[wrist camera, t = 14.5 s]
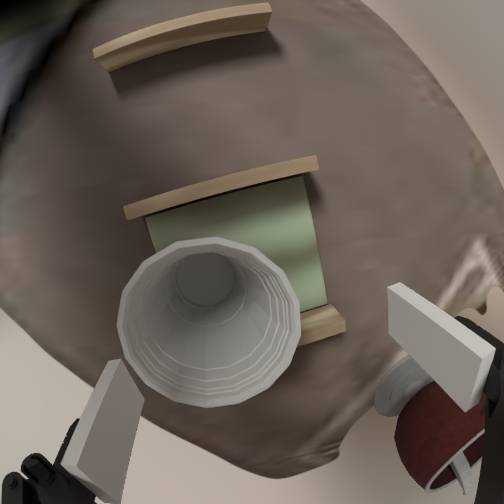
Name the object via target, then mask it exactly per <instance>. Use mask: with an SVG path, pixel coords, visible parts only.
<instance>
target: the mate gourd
mask: <svg viewBox="0 0 504 504" xmlns="http://www.w3.org/2000/svg"><path fill="white" fill-rule="evenodd" d="M486 398H487V396H486V395H485V394H484V393H483V392H482V395H481V398H480V400H479V403H478V404H476V405H475V406H474V407H472V408H471V409H469V410H468V411H467V412H464V411H463V410H462V409H461V408H460V407H459V406H458V405H457V404H456V402H455V401H454V400H453V399H452V398H451V397H450V396H449V395H448V394H447V393H446V392H445V391H444V390H443V389H442V388H441V387H440V385H439V384H438V383H437V382H436V381H435V380H434V379H433V378H432V377H431V376H430V375H429V374H428V373H427V372H426V371H425V370H424V369H423V368H422V367H421V366H420V365H419V364H418V363H417V362H416V361H415V360H414V359H413V358H412V357H411V356H410V355H408V356H406V357H405V358H403V359H402V360H400V361H399V362H398V363H397V364H396V365H394V366H393V367H392V368H391V369H390V370H389V371H388V372H387V374H386V375H385V376H384V377H383V379H382V380H381V382H380V383H379V385H378V387H377V389H376V391H375V395H374V406H375V408H376V410H377V411H378V412H379V413H380V414H381V415H383V416H396V415H399V417H398V420H397V425H396V431H395V437H394V438H395V442H396V446H397V450H398V453H399V456H400V458H401V461H402V463H403V465H404V466H405V468H406V470H407V471H408V473H409V475H410V476H411V477H412V478H413V479H414V480H415V481H416V482H417V483H418V484H419V485H420V486H421V487H422V488H424V489H425V492H426V493H433V492H436V491H438V490H441V489H443V488H445V487H447V486H448V485H450V484H452V483H453V482H455V481H456V480H458V481H459V483H460V485H461V487H462V489H463V491H464V492H463V495H467V494H468V493H469V489H470V484H471V469H472V468H473V467H474V466H475V465H477V464H478V463H479V462H480V461H481V460H482V455H483V444H484V431H485V411H484V413H483V415H480V414H481V410H482V408H483V406H484V403H485V401H486Z"/></svg>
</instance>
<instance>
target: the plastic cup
mask: <svg viewBox="0 0 504 504" xmlns="http://www.w3.org/2000/svg"><path fill="white" fill-rule="evenodd" d="M116 326H117V330H118V334H119V337H120V341H121V345H122V348H123V352H124V355H125V358H126V360H127V361H128V362H129V364H130V365H131V366H132V368H133V369H134V370H135V371H136V373H137V374H138V375H139V377H140V378H141V379H142V380H143V382H144V383H145V384H146V385H148V386H149V387H151V388H152V389H154V390H156V391H157V392H159V393H161V394H162V395H164V396H166V397H167V398H169V399H171V400H173V401H175V402H179V403H184V404H189V405H194V406H199V407H205V408H210V407H217V406H225V405H232V404H238V403H241V402H243V401H245V400H247V399H249V398H251V397H253V396H255V395H257V394H259V393H260V392H262V391H264V390H266V389H268V388H269V387H270V386H271V385H272V384H273V383H274V382H275V381H276V379H277V378H278V377H279V376H280V375H281V374H282V373H283V372H284V371H285V370H286V368H287V367H288V366H289V365H290V363H291V360H292V358H293V355H294V352H295V350H296V347H297V344H298V342H299V339H300V336H301V322H300V304H299V300H298V298H297V296H296V294H295V292H294V290H293V288H292V286H291V284H290V282H289V280H288V279H287V277H286V275H285V273H284V271H283V270H282V269H281V268H279V267H278V266H277V265H276V264H274V263H273V262H272V261H271V260H270V259H268V258H267V257H266V256H265V255H263V254H262V253H261V252H260V251H258V250H257V249H256V248H255V247H251V246H248V245H244V244H241V243H237V242H234V241H230V240H227V239H223V238H220V237H209V238H201V239H193V240H185V241H177V242H175V243H173V244H171V245H170V246H168V247H166V248H165V249H163V250H161V251H159V252H158V253H156V254H154V255H153V256H151V257H149V258H148V259H146V260H144V261H143V262H142V264H141V265H140V266H139V268H138V269H137V271H136V272H135V273H134V275H133V276H132V278H131V279H130V281H129V282H128V284H127V285H126V286H125V288H124V289H123V291H122V295H121V301H120V307H119V313H118V319H117V325H116Z"/></svg>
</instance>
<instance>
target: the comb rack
mask: <svg viewBox="0 0 504 504" xmlns="http://www.w3.org/2000/svg"><path fill="white" fill-rule="evenodd" d="M271 14H272V10H271V7H270V5H269V3H259V4H250V5H242V6H235V7H228V8H223V9H217V10H212V11H207V12H202V13H197V14H193V15H189V16H185V17H181V18H177V19H173V20H170V21H166V22H163V23H160V24H156V25H153V26H150V27H147V28H144V29H141V30H138V31H135V32H133V33H130V34H127V35H125V36H122V37H120V38H117V39H115V40H112V41H110V42H107V43H105V44H103V45H100V46H98V47H96V48H94V49H93V55H94V59H95V60H96V61H97V62H98V63H99V64H100V65H101V66H102V67H103V68H105V69H106V70H107V71H108V72H111V71H114V70H116V69H119V68H121V67H124V66H126V65H129V64H131V63H134V62H137V61H140V60H143V59H145V58H148V57H151V56H154V55H157V54H161V53H164V52H167V51H171V50H174V49H177V48H181V47H185V46H189V45H193V44H197V43H201V42H205V41H210V40H214V39H219V38H224V37H229V36H235V35H241V34H248V33H254V32H262V31H266V29H267V26H268V23H269V20H270V17H271ZM314 170H319V165H318V161H317V157H316V155H313V156H308V157H303V158H298V159H294V160H289V161H284V162H280V163H275V164H271V165H266V166H262V167H258V168H254V169H250V170H245V171H241V172H237V173H233V174H230V175H226V176H222V177H218V178H214V179H211V180H207V181H204V182H200V183H196V184H193V185H189V186H186V187H183V188H179V189H176V190H173V191H169V192H166V193H163V194H160V195H157V196H153V197H150V198H147V199H144V200H141V201H138V202H135V203H132V204H129V205H126V206H123V209H124V212H125V216H126V219H127V221H128V220H131V219H134V218H137V217H140V216H143V215H146V214H150V213H153V212H156V211H159V210H163V209H166V208H169V207H172V206H176V205H179V204H183V203H186V202H189V201H193V200H196V199H200V198H203V197H207V196H211V195H214V194H218V193H222V192H226V191H229V190H233V189H237V188H241V187H245V186H249V185H253V184H257V183H261V182H265V181H269V180H273V179H278V178H282V177H286V176H291V175H295V174H300V173H304V172H309V171H314ZM145 220H146V223H147V226H148V230H149V233H150V236H151V240H152V243H153V246H154V249H155V252H156V253H158V252H159V251H161V250H163V249H165V248H166V247H168V246H170V245H171V244H173V243H175V242H177V241H185V240H193V239H201V238H209V237H220V238H223V239H227V240H230V241H234V242H237V243H241V244H244V245H248V246H251V247H255V248H256V249H257V250H258V251H260V252H261V253H262V254H263V255H265V256H266V257H267V258H268V259H270V260H271V261H272V262H273V263H274V264H276V265H277V266H278V267H279V268H281V269H282V270H283V271H284V273H285V275H286V277H287V279H288V280H289V282H290V284H291V286H292V288H293V290H294V292H295V294H296V296H297V298H298V300H299V304H300V312H301V311H305V310H308V309H311V308H315V307H318V306H321V305H324V304H327V297H326V291H325V285H324V279H323V273H322V268H321V262H320V256H319V251H318V246H317V240H316V235H315V230H314V225H313V220H312V215H311V211H310V206H309V201H308V197H307V192H306V188H305V183H304V179H303V176H299V177H294V178H290V179H285V180H281V181H277V182H273V183H268V184H264V185H260V186H256V187H252V188H248V189H244V190H240V191H236V192H233V193H229V194H225V195H221V196H218V197H214V198H210V199H207V200H203V201H199V202H196V203H192V204H189V205H185V206H182V207H179V208H175V209H172V210H169V211H165V212H162V213H159V214H155V215H152V216H149V217H146V218H145ZM300 322H301V336H300V339H299V342H298V344H297V347H298V346H302V345H305V344H308V343H311V342H314V341H318V340H321V339H324V338H327V337H330V336H333V335H336V334H339V333H341V332H344V331H346V323H345V320H344V318H343V317H342V316H341V315H340V314H339V313H338V311H337V310H336V309H335V308H334V307H333V306H332V304H329V305H326V306H323V307H319V308H316V309H313V310H310V311H306V312H303V313H300Z"/></svg>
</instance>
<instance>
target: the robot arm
mask: <svg viewBox="0 0 504 504" xmlns="http://www.w3.org/2000/svg"><path fill="white" fill-rule="evenodd" d="M387 292H388V319H389V335H390V336H391V337H392V338H393V339H394V340H395V341H396V342H397V343H398V344H399V345H400V346H401V347H402V348H403V349H404V350H405V351H406V352H407V353H408V354H409V355H410V356H411V357H412V358H413V359H414V360H415V361H416V362H417V363H418V364H419V365H420V366H421V367H422V368H423V369H424V370H425V371H426V372H427V373H428V374H429V375H430V376H431V377H432V378H433V379H434V380H435V381H436V382H437V383H438V384H439V385H440V387H441V388H442V389H443V390H444V391H445V392H446V393H447V394H448V395H449V396H450V397H451V398H452V399H453V400H454V401H455V402H456V404H457V405H458V406H459V407H460V408H461V409H462V410H463V411H464V412H467V411H468V410H469V409H471V408H472V407H474V406H475V405H476V404H478V403H479V400H480V398H481V395H482V392H483V393H484V394H485V395H486V396H487V398H486V401H485V403H484V406H483V408H482V410H481V414H480V415H483V413H484V411H485V431H484V444H483V455H482V463H481V470H480V477H479V483H478V488H477V493H476V498H475V502H474V504H504V343H503V342H501V341H500V340H498V339H497V338H495V337H494V336H493V335H491V334H490V333H488V332H487V331H485V330H483V329H482V328H481V327H480V326H477V325H476V324H475V323H474V322H472V321H471V320H469V319H467V318H464V317H460V316H457V317H455V318H453V317H451V316H450V315H448V314H447V313H445V312H444V311H442V310H441V309H440V308H438V307H437V306H435V305H434V304H432V303H431V302H429V301H428V300H426V299H425V298H423V297H422V296H420V295H419V294H417V293H416V292H414V291H412V290H411V289H409V288H408V287H406V286H405V285H403V284H402V283H400V282H399V283H397V284H394V285H392V286H389V287H387ZM144 400H145V399H144V397H143V396H142V394H141V392H140V391H139V389H138V387H137V386H136V384H135V382H134V381H133V379H132V377H131V375H130V374H129V372H128V370H127V368H126V366H125V365H124V363H123V361H122V359H116V360H109V361H108V363H107V365H106V366H105V368H104V370H103V372H102V374H101V376H100V378H99V380H98V382H97V384H96V386H95V388H94V391H93V393H92V394H91V397H90V399H89V401H88V403H87V405H86V407H85V409H84V411H83V414H82V416H81V418H80V419H76V420H75V422H74V423H73V424H72V425H71V426H70V428H69V430H68V432H67V434H66V435H67V437H65V439H64V441H63V442H64V443H63V444H62V446H61V448H60V450H59V453H58V455H57V457H56V459H55V462H54V464H53V465H52V464H51V463H50V462H49V461H48V460H47V459H46V458H45V457H44V456H43V455H41V454H40V453H34V454H31V455H29V456H28V457H26V458H25V459H24V461H23V463H22V465H21V472H22V473H23V474H24V475H25V476H27V477H28V478H29V479H25V478H24V477H23V476H22V475H20V473H18V472H11V473H9V474H7V475H6V476H5V478H4V480H3V483H2V504H97V503H96V502H94V501H95V497H96V496H97V497H98V498H99V499H100V500H102V501H103V502H104V503H111V504H121V498H122V493H123V488H124V483H125V478H126V474H127V469H128V465H129V460H130V456H131V452H132V447H133V443H134V439H135V435H136V431H137V427H138V423H139V419H140V415H141V411H142V408H143V404H144Z"/></svg>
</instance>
